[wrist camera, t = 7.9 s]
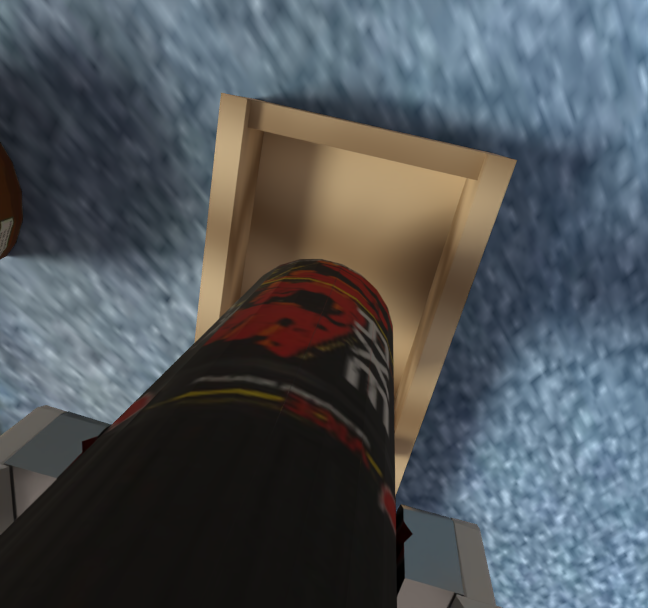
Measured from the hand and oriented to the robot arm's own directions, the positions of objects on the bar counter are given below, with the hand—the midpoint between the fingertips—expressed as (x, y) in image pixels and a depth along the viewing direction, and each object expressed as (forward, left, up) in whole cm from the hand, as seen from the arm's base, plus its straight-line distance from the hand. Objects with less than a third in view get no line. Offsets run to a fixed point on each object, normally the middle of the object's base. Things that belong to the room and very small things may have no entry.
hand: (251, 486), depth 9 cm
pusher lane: (+5, 0, -15) cm, 15 cm away
